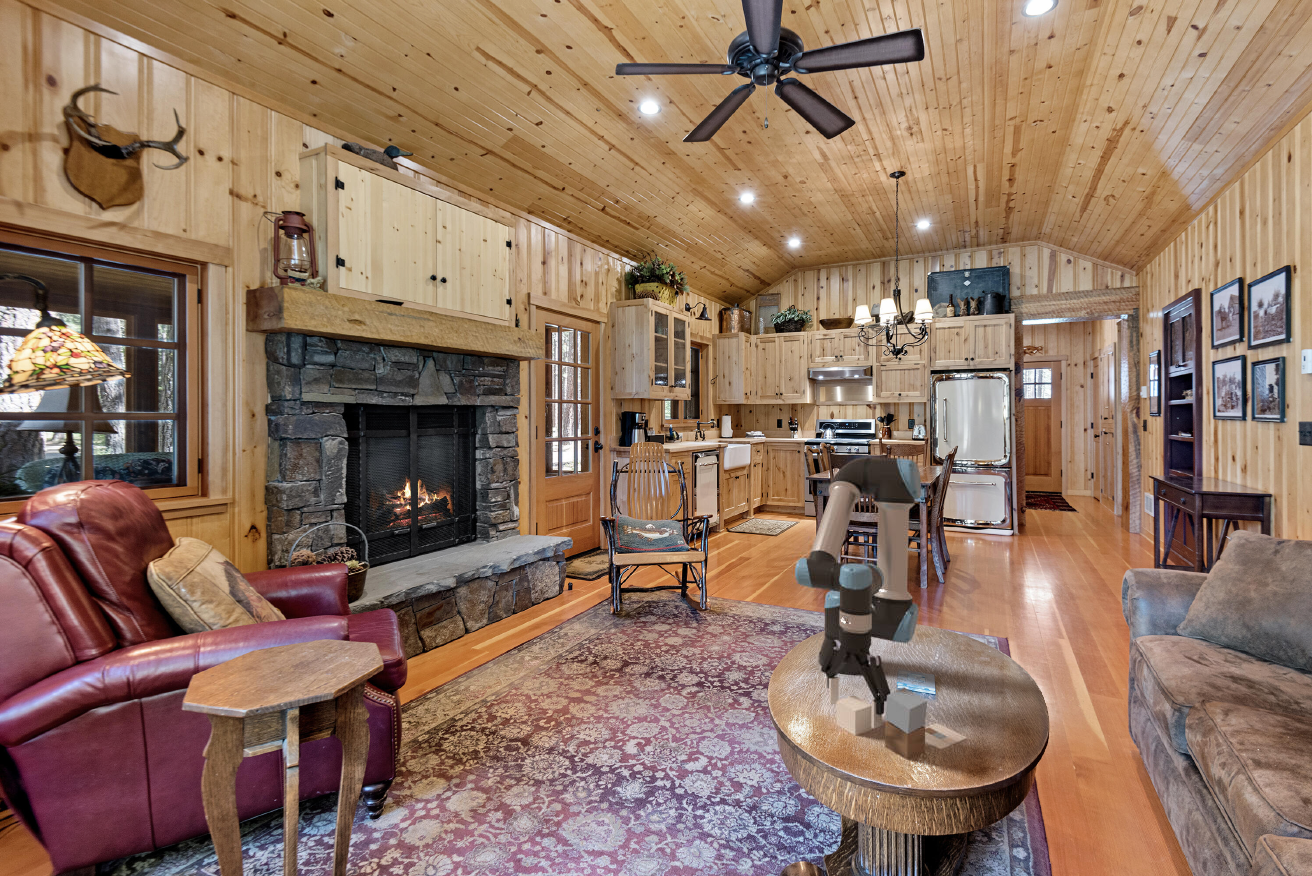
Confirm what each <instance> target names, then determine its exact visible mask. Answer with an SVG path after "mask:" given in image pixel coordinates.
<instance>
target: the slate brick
mask: <svg viewBox="0 0 1312 876" xmlns="http://www.w3.org/2000/svg"><path fill="white" fill-rule="evenodd" d="M927 704H928V700H927V699H925V698H923V697H922V696H919V695H918V694H917V693H915V692H913V691H911V690H909V689H907V688H906V687H902V688H900V689H897V690H896V691H893V692H891V694H889V695H887V701H886V706H885V716H884V717H885V720H886V721H889V722H891V723H892V724H894V725H895V726H897V727H898V728H900V729H901V730H903V731H904V732H906V733H907V734H909V733H910V732H912V731H914V730H916V729H918V728H920V727H922V726H924V727H925V726H926V717H927V707H928V705H927Z"/></svg>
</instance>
